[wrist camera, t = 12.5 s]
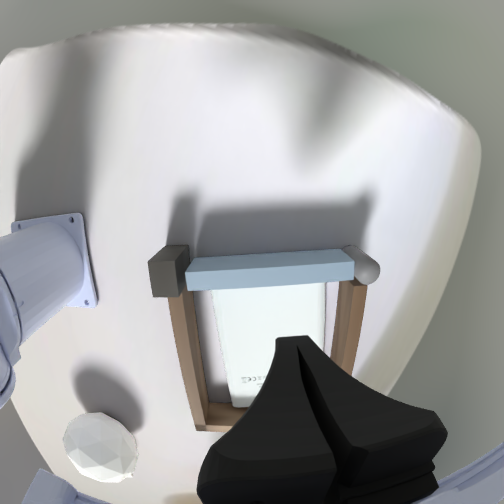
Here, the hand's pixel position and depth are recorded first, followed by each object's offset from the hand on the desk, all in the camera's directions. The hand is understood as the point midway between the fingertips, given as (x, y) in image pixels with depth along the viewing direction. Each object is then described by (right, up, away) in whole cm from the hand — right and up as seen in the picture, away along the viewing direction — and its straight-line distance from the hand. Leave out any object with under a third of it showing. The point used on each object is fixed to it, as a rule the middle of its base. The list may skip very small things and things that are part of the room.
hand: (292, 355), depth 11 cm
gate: (0, +4, +8) cm, 9 cm away
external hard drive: (0, -3, +12) cm, 12 cm away
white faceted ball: (-19, -18, +15) cm, 30 cm away
